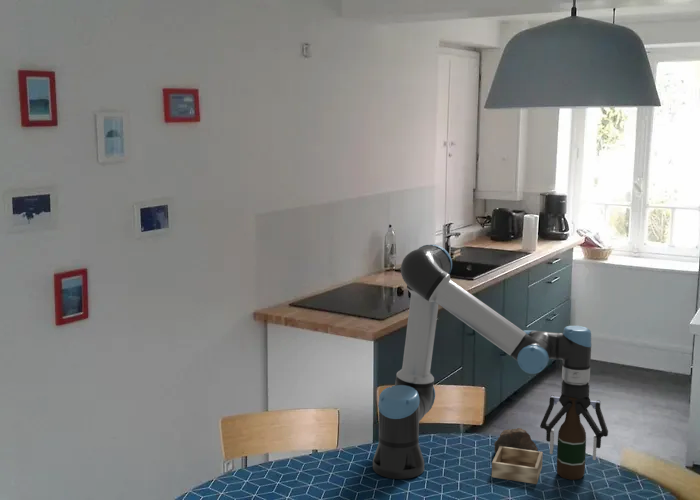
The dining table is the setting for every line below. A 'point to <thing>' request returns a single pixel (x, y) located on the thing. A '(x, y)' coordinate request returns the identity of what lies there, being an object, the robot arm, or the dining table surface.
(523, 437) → the rock
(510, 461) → the caddy
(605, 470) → the dining table surface
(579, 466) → the beer bottle
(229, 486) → the dining table surface
